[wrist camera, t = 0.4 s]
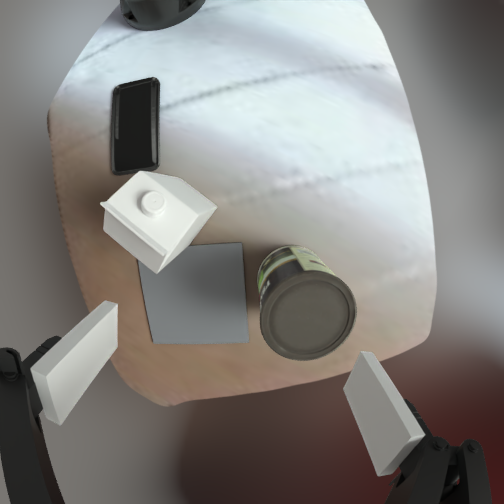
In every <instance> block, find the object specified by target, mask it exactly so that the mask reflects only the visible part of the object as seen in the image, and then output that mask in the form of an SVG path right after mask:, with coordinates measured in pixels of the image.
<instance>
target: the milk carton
mask: <svg viewBox="0 0 504 504" xmlns="http://www.w3.org/2000/svg"><path fill="white" fill-rule="evenodd" d="M100 205H102V206H103V207H104V208H105V215H104V227H103V230H104V231H105V232H106V233H107V234H108V235H110V236H111V237H112V238H113V239H114V240H115V241H117V242H118V243H119V244H120V245H121V246H122V247H124V248H125V249H126V250H127V251H128V252H130V253H131V254H132V255H133V256H134V257H136V258H137V259H138V260H139V261H141V262H142V263H143V264H144V265H146V266H147V267H148V268H149V269H151V270H152V271H153V272H154V273H156V274H157V273H158V272H159V271H161V270H162V269H163V268H164V267H165V266H166V265H167V264H168V263H170V262H171V261H172V260H173V259H174V258H175V257H176V256H177V255H179V254H180V253H181V252H182V251H183V250H184V249H185V248H187V247H188V246H189V245H190V243H191V242H192V241H193V239H194V238H195V237H196V235H197V234H198V232H199V231H200V230H201V228H202V227H203V226H204V224H205V223H206V222H207V220H208V219H209V218H210V217H211V215H212V214H213V213H214V211H215V210H216V209H217V206H216V205H215V204H214V203H213V202H211V201H210V200H209V199H207V198H206V197H205V196H203V195H202V194H201V193H199V192H198V191H197V190H196V189H194V188H193V187H192V186H190V185H189V184H188V183H186V182H185V181H184V180H182V179H181V178H179V177H174V176H169V175H163V174H158V173H152V172H147V171H139V172H138V173H137V174H135V175H134V176H133V177H132V178H131V179H130V180H129V181H128V182H127V183H125V184H124V185H123V186H122V187H121V188H120V189H119V190H118V191H117V192H116V193H115V194H114V195H113V196H112V197H111V198H110V199H108V200H107V201H106V202H101V203H100Z"/></svg>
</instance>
